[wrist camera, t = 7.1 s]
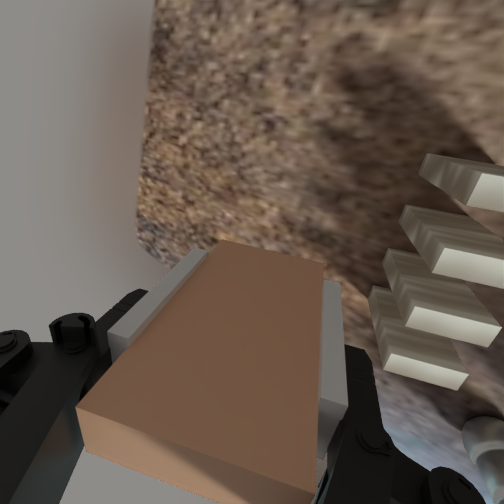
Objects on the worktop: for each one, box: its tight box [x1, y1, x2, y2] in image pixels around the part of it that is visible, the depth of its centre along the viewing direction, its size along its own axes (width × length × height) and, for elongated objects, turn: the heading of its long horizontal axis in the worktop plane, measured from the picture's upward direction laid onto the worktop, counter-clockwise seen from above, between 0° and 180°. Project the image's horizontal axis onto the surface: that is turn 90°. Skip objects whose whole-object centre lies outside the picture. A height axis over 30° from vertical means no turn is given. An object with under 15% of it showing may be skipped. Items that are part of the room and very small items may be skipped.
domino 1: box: [418, 153, 504, 212], centre depth 22 cm, size 2×6×11 cm, turn 82°
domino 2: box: [398, 204, 504, 289], centre depth 24 cm, size 2×6×11 cm, turn 82°
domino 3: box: [382, 248, 502, 347], centre depth 26 cm, size 2×6×11 cm, turn 82°
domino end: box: [75, 239, 324, 504], centre depth 12 cm, size 2×6×11 cm, turn 82°
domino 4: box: [368, 285, 469, 390], centre depth 28 cm, size 2×6×11 cm, turn 82°
